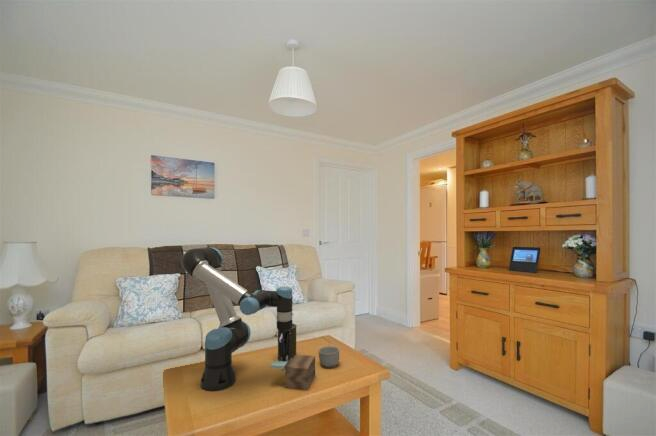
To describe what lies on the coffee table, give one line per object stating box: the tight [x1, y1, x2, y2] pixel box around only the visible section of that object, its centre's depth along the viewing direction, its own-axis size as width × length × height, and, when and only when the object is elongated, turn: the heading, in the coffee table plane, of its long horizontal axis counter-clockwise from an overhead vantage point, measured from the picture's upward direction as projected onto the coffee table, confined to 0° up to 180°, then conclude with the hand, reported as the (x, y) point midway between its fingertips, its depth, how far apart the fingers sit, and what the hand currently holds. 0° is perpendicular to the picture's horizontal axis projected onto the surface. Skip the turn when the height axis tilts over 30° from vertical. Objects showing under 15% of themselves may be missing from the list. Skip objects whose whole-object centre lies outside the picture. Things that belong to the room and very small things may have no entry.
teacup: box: [318, 344, 340, 368], centre depth 166 cm, size 14×11×8 cm
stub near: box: [270, 360, 289, 370], centre depth 145 cm, size 7×5×1 cm
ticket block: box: [285, 354, 316, 391], centre depth 147 cm, size 10×14×9 cm
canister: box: [277, 323, 297, 361], centre depth 173 cm, size 11×10×20 cm
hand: (284, 369), depth 152 cm, fingers closed
